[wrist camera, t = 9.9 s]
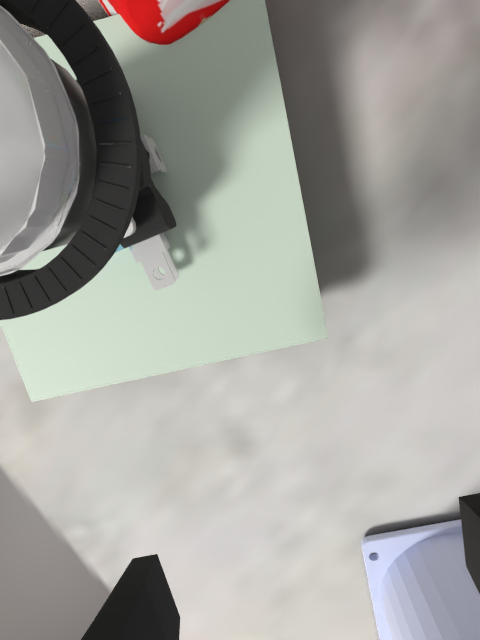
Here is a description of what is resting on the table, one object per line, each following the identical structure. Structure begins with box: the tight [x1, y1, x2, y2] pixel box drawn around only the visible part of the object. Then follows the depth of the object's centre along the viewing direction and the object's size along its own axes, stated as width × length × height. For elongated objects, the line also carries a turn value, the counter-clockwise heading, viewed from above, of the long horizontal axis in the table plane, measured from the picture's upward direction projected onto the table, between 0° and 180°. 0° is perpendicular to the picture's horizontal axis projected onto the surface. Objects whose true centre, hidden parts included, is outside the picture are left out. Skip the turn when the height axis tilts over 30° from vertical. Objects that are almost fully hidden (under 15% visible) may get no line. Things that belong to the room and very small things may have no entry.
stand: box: [0, 0, 328, 402], centre depth 17 cm, size 12×12×3 cm
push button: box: [0, 0, 179, 320], centre depth 10 cm, size 7×5×10 cm
